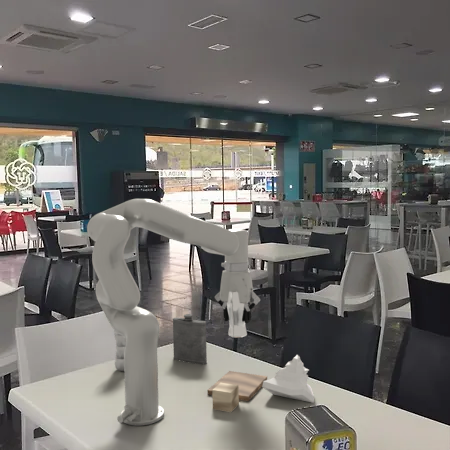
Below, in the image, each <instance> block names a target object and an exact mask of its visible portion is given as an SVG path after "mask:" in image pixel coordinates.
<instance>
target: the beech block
mask: <svg viewBox="0 0 450 450" xmlns="http://www.w3.org/2000/svg"><path fill="white" fill-rule="evenodd" d="M211 396H212V410H214V411H215V410H216V411H217V410H218V411H220V412H221V411H223V412H227V413H232V412H234V410H235V409H236V408H237V407H238V406H239V405H240V400H239V385H233V384H226V383H220V384H218V385H217V386H216V387H215V388H214V389H213V390H212V395H211Z"/></svg>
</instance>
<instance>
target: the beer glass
mask: <svg viewBox="0 0 450 450" xmlns="http://www.w3.org/2000/svg"><path fill="white" fill-rule="evenodd" d="M226 305H227V313H228V318H229V320H228V325H229V327H228V331H227V332H228V333H227V335H228V336H229V337H230V338H237V339H239V338H244V337H247V335H248V333H247V332H248V331H247V328H246V323H245V311H246V308H245V304H244V303H239V296H238V292H232V291H229V297H228V302H226Z"/></svg>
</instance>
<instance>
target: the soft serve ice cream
mask: <svg viewBox="0 0 450 450" xmlns="http://www.w3.org/2000/svg"><path fill="white" fill-rule="evenodd" d="M309 371H310V369H308V368H306V367H305V366H304V362H302V360H301V357H300V355H299V354H296V355H295V356H294V357H293V358H292V360H290V361H288V362H287V363H286V364H285V366H284V367H282V368H280V369H278V370H277V372H275V374H274V377H272V378H268V379H267V380H266V381H263V386H262V387H261V388H263V389H264V390H266V391H267V392H269V393H270V394H272V395H274V396H277V397H284V398H289V399H293V400H299V401H303V402H307V403H312V404H314V402H315V395H314V394H315V393H314V392H313V388H312V386H311V385H310V384H309V383H308V380H309V379H308V378H309V375H308V372H309Z"/></svg>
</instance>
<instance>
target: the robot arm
mask: <svg viewBox="0 0 450 450" xmlns="http://www.w3.org/2000/svg"><path fill="white" fill-rule="evenodd" d="M134 228H140V229H145V230H147V231H150V232H153V233H155V234H157V235H161V236H164V237H165V238H168V239H171V240H173V241H176V242H179V243H184V244H189V245H195V246H200V247H201V249H202V250H203V251H204V252H207V253H208V254H214V255H219V256H224V262H221V264H220V267H222V268H224V270H222V273H221V280H220V288H219V291H218V293H216V294H215V296H214V299H215V301H216V302H218V304H219V306H220V307H221V308H222V310H223V318H224V322H229V318H228V313H227V305H226V302H228V297H229V291H232V292H238V296H239V303H244V304H245V308H246V311H245V324H249V323H250V322H251V320H252V310H253V309H254V308H255V307H256V305H258V303H260V301H261V298H260V297H259V296H258V295H257V294H256V293H255V292H254V287H253V280H252V275H251V272H250V270H249V234H248V231H247V230H246V229H243V228H229V229H226V228H224V227H223V226H220V225H218V224H214V223H212V222H208V221H206V220H203V219H200V218H198V217H195V216H193V215H190V214H187V213H184V212H182V211H180V210H177V209H174V208H172V207H170V206H168V205H165V204H163V203H161V202H158V201H156V200H153V199H150V198H133V199H128V200H126V201H124V202H122V203H120V204H117V205H115V206H112V207H110V208H108V209H106V210H103V211H101V212H98V213H96V214H94V215H93V216H92V217H91V218H90V219H89V221H88V223H87V227H86V231H87V234H88V237H89V238H90V239H91V240H92V241H94V242H95V243H94V246H93V250H92V255H91V257H92V258H91V261H92V267H93V269H94V271H95V275H96V276H97V279H98V281H97V283H96V285H95V296H96V300H97V301H98V303H99V306H100V308H101V310H102V311H103V314H104V316H105V318H106V319H107V321H108V323H109V324H110V326H111V327H112V329H113V331H114V330H115V331H116V332H117V333H118V334H120V335H122V336H124V337H125V338H126V347H125V351H124V371H123V373H124V401H125V405H124V407H123V408H124V409H123V410H121V412H120V415H118V416H117V418H116V419H117V422H119V423H121V424H122V423H125V424H126V425H130V426H147V425H151V424H154V423H157V422H159V421H161V420H162V419H163V418H164V416H165V410H164V408H163V407H162V406H161V405H160V404H159V371H158V369H159V368H158V365H159V364H158V343H159V337H160V322H159V320H158V318H157V317H156V315H155V314H154V313H153V312H151V311H149V310H148V309H145V308H143V307H140V306H139V304H140V301H141V292H140V289H139V287H138V285H137V283H136V281H135V279H134V277H133V274H132V273H131V271H130V269H129V267H128V264H127V263H126V259H125V254H124V253H125V247H126V245H127V243H128V241H129V239H130V236H131V231H132V230H133V229H134ZM252 300H253V301H252ZM251 301H252V302H251Z"/></svg>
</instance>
